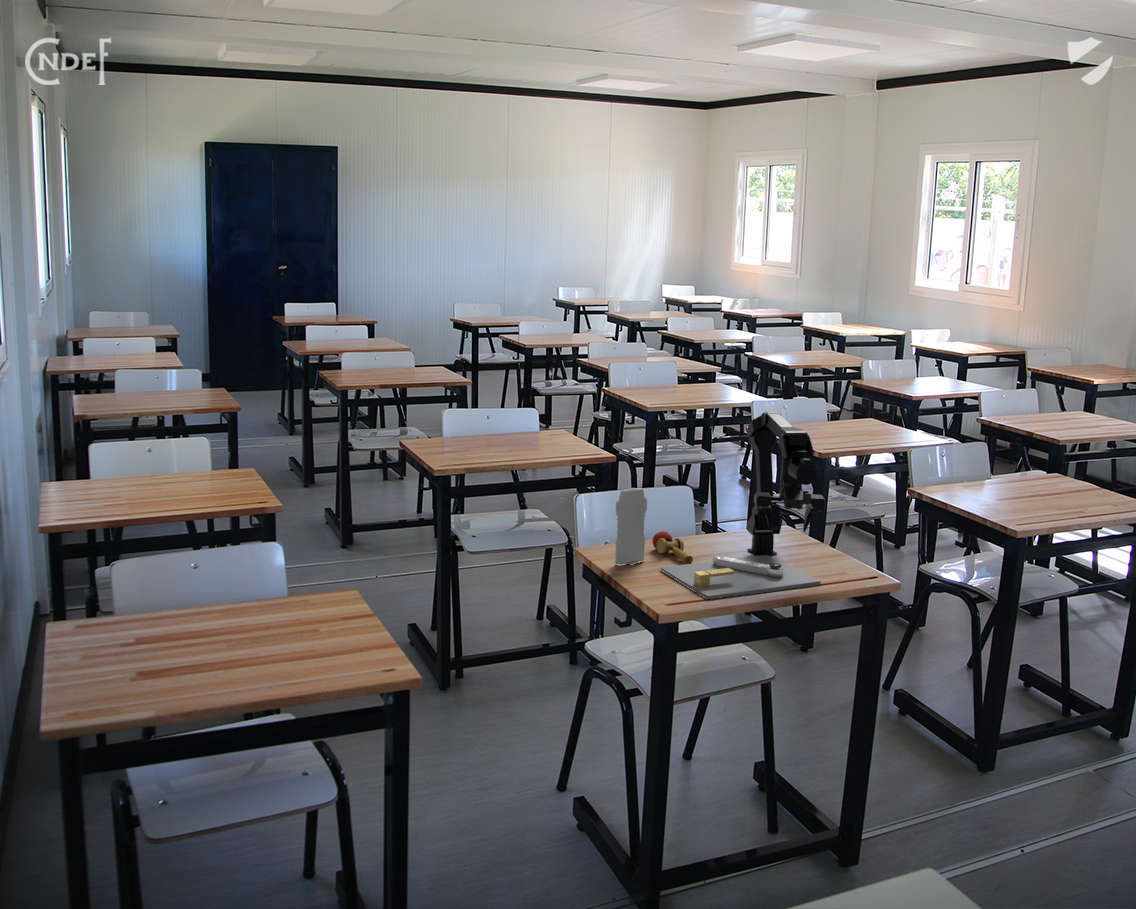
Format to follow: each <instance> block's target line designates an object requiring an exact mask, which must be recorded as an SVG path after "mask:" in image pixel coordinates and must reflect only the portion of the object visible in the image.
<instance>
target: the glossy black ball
mask: <svg viewBox="0 0 1136 909" xmlns="http://www.w3.org/2000/svg"><path fill="white" fill-rule="evenodd" d="M769 566H770V567H772V568H775V569H777V568H781V566H782V565H781V564H778V563H770V565H769Z"/></svg>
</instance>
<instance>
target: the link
mask: <svg viewBox="0 0 1136 909" xmlns="http://www.w3.org/2000/svg"><path fill="white" fill-rule="evenodd" d="M712 560H713V565H716V566H721V567H726V568H731V569H737V570H742V571H747V572H752V573H757V574H763V575H767V576H769V577H774V578H780V577H783V570H784V568H783V567H781V568H777V569H775V568H772V567H770V566H769V565H766V564H760V563H755V562H750V561H744V560H739V559H736V558H735V557H734V558H732V557H727V556H722V555H714V556H713V557H712Z"/></svg>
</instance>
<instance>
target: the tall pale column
mask: <svg viewBox="0 0 1136 909" xmlns="http://www.w3.org/2000/svg"><path fill="white" fill-rule="evenodd" d="M647 510H648V498H647V497H646V496H645V491H644V488H641V487H638V488H636V487H629V488H627V489H623V490H621V491H620V494H619V498H618V500H617V501H616V503H615V514H616V516H617V518H616V520H617V523H616V524H617V530H616V531H617V532H616V535H617V537H616V540H615V556H614V558H615V559H614V560H615V561H614V565H615V564H620V565H621V564H634V563H637V562H639V561H643V560H644V561H645V546H646V545H645V543H646V541H645V540H646V539H645V538H646V537H645V533H644V531H645V520H646V519H645V518H646V512H647Z"/></svg>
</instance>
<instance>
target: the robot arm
mask: <svg viewBox="0 0 1136 909" xmlns="http://www.w3.org/2000/svg"><path fill="white" fill-rule="evenodd" d="M746 434H747V437H748V442H749V444H750V446H751V448H752V449H753V451H754V452H755V453H754V454H755V472H756V473H755V474H756V478H755V479H756V492H755V493H754V495H753V497H754V498H753V502H754V506H753V507H752V510H751V516H750V517H749V519H748V521H747V523H746V531H747V532H748V533H749V534H750V535H751V536H752V537H751V538H752V540H751V548H747V550H748V551H747V552H749V551H750V553H751V552H752V554H753V555H754V556H762V555H767V556H773V555H777V554H778V552H777V551H775V550H774V542H775V540H774V537H775V536H774V535H780V533H781V530H782V524H783V517H782V515H781V506H780V505H779V504H783V507H784V508H785V509H787V510H790V509H797V510H802V509H803V507H804V505H805V510H804V511H805V513H804V519H803V524H802V526H803V527H802V531H803V532H804V533H805V532H806V530H807V529H808V526H809V525H810V522H811V520H812V519H813V517H814V516H815V514H816V513H820V512H821V510H826V508H827V500H826V498H825V497H824V496H823V495H822V494H817V493H816V494H815V493H814V494H813V493H812V491H811V490H803V485H804V486H809V485H812V484H813V483H814V482H815V481H816V479H817V476H818V471H817V469H816V466H814V465H812V462H811V461H812V460H811V459H814V452H815V451H814V447H813V444H812V441H811V437H810V435H809V434H808V432H807V431H806V430H805V429H803V428H798V427H794V426H792V425H791V423H790V422H789V421H787V420H786V419H785V418H784V417H783V415H782V413H781V412H779V411H764V412H762V413H761V415H759V416H758V417H756V418H754V419H752V420H751V421H750V423H749V424H748V425H747V429H746ZM777 438H778V439H777ZM777 440H778V447H779V449H780V452H781V453H780V455H781V457H782V458H781V468H780V469H781V470H780V484H779V496H778V495H777V496H775V495H774V481H773V480H774V479H773V457H772V456H773V455H772V454H773V452H772V451H773V449H774V448H775V447H774V446H775V445H776V444H777V443H776V442H777Z"/></svg>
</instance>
